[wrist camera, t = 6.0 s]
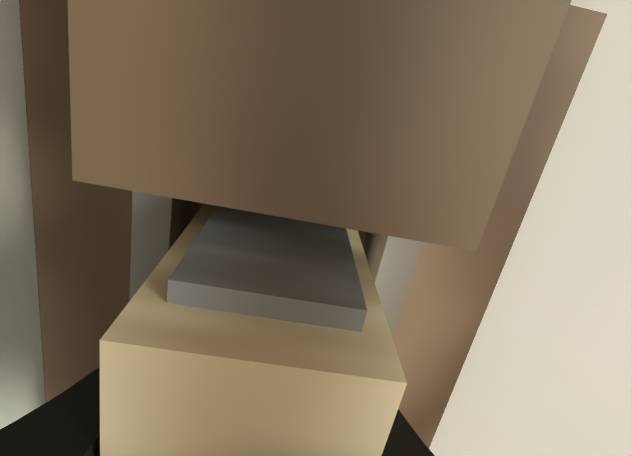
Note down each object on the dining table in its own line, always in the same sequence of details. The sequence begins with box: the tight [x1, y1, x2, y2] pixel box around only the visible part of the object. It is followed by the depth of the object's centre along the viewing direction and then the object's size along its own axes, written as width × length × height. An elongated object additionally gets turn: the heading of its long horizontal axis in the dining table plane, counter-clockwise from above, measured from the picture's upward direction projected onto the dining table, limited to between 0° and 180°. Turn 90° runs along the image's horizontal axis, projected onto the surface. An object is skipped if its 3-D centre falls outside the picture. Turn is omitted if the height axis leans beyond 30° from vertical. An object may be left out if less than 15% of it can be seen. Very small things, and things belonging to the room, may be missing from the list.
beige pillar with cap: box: [100, 204, 407, 456], centre depth 10 cm, size 4×8×7 cm, turn 169°
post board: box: [19, 0, 607, 448], centre depth 13 cm, size 16×28×7 cm, turn 169°
